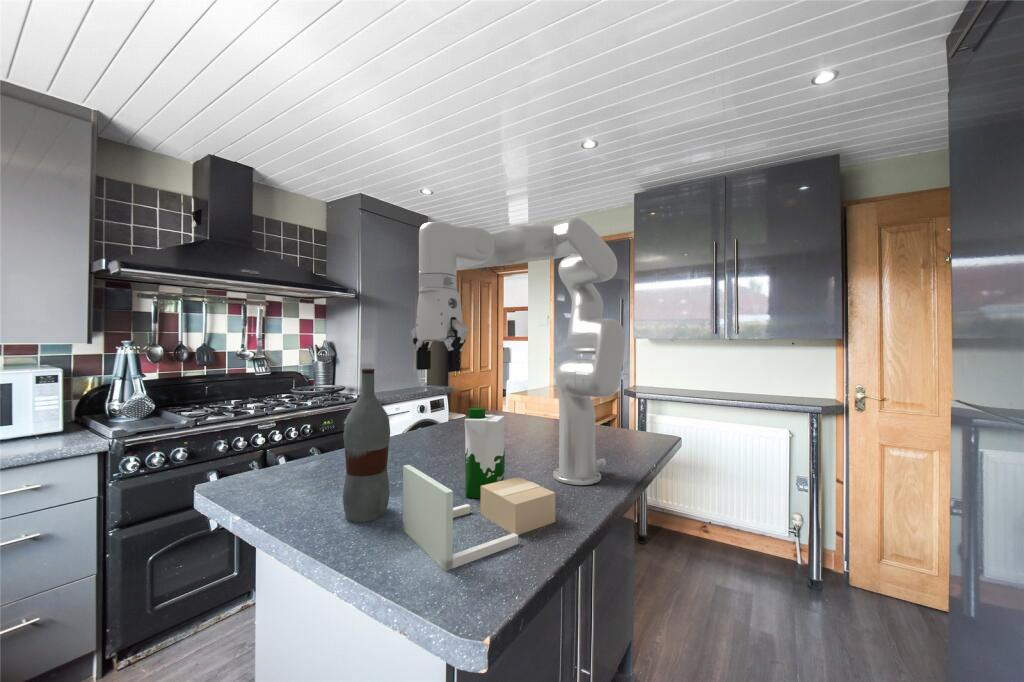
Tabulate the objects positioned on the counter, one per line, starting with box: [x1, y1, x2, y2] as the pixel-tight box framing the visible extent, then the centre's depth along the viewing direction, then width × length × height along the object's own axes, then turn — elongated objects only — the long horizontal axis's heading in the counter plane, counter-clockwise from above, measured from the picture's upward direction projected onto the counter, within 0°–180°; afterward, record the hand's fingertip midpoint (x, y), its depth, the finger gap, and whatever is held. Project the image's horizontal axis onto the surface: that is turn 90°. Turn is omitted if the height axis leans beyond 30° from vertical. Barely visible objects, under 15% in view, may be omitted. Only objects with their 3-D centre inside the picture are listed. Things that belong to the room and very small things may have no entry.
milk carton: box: [463, 406, 506, 500], centre depth 93 cm, size 9×9×20 cm
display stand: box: [402, 464, 519, 572], centre depth 72 cm, size 14×17×12 cm
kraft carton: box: [479, 476, 556, 536], centre depth 80 cm, size 10×12×6 cm
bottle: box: [342, 367, 391, 523], centre depth 82 cm, size 9×9×30 cm
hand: (437, 370), depth 79 cm, fingers open, 9 cm apart
